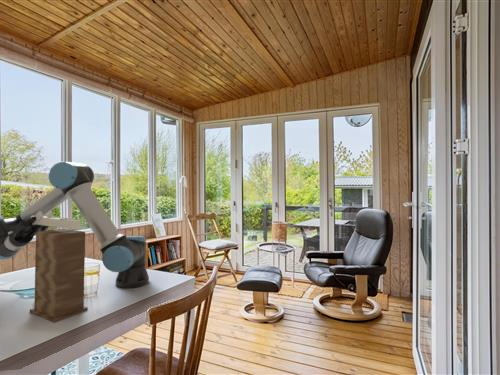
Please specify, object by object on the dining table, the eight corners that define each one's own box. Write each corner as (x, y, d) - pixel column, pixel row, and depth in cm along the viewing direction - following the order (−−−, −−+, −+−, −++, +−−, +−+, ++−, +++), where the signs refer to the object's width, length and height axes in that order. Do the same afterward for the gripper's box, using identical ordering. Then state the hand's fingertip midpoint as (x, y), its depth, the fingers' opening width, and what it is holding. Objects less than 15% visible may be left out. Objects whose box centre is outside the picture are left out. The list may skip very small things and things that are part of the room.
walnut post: (29, 312, 108) (31, 231, 108) (63, 301, 119) (64, 228, 119) (54, 322, 101) (56, 236, 101) (87, 310, 112) (89, 231, 111)
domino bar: (30, 223, 117) (30, 215, 117) (38, 222, 120) (39, 214, 120) (72, 229, 104) (72, 220, 104) (80, 228, 107) (80, 219, 107)
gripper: (42, 243, 130) (69, 220, 121) (-2, 250, 116) (25, 224, 106) (38, 228, 132) (64, 204, 122) (-7, 233, 118) (20, 206, 108)
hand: (46, 213), depth 114 cm, fingers closed on domino bar, 3 cm apart
